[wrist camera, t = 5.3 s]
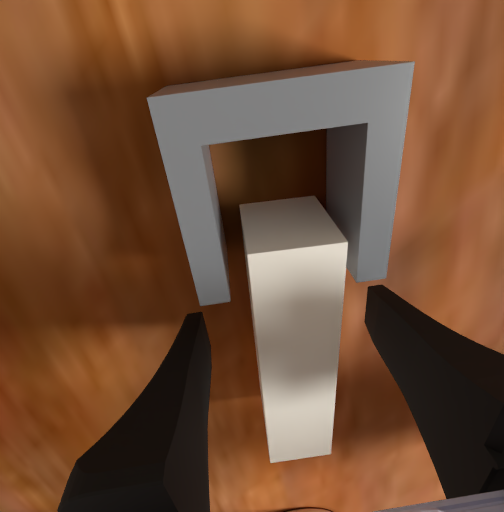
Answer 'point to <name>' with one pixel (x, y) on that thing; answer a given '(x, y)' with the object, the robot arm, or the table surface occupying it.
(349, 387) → the table surface
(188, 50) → the table surface
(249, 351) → the table surface
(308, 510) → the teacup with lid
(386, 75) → the grey u-shaped block
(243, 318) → the table surface
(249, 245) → the slat
